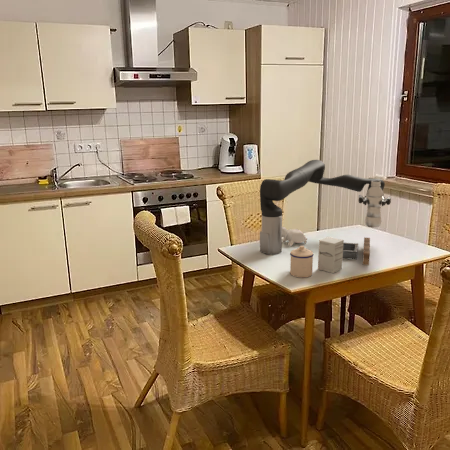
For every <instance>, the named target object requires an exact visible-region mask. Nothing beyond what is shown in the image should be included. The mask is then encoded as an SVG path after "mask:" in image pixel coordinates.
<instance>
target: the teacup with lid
mask: <svg viewBox="0 0 450 450" xmlns="http://www.w3.org/2000/svg"><path fill="white" fill-rule="evenodd" d="M289 255H290V263H289V265H290V266H289V267H290V268H289V269H290V270H289V271H290V275H291V276H293V277H295V278H300V279H301V278H302V279H304V278H310V277H311V276H312V275H313V263H314V262H313V261H314V252H313V250H310V249H307V248H306V247H305V245H300V246H299V247H298V248H295V249H292V250H291V251H290V252H289Z"/></svg>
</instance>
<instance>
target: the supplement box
mask: <svg viewBox="0 0 450 450" xmlns="http://www.w3.org/2000/svg"><path fill="white" fill-rule="evenodd" d="M344 241H345V240H344V239H340V238H335V237H332V236H326V237H322V238H321V239H319V240H318V258H317V259H318V260H317V270H320V271H324V272H327V273H331V274H334V273H336V272H339V271H340V270H342V267H343V259H344V258H343V243H345V242H344Z"/></svg>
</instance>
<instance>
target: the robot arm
mask: <svg viewBox="0 0 450 450" xmlns="http://www.w3.org/2000/svg"><path fill="white" fill-rule="evenodd" d="M325 169H326V164H325V162H324V161H322V160H320V159H311V160H308V161H307V162H305V163H304V164H303V165H302V166H299V167H298V168H295V169H293V170H291V171H288V172H287V173H286V174H285V176H284V179H283V180H279V179H271V178H270V179H269V178H267V179H263V180H262V181H261V184H260V187H259V199H260V200H259V201H260V211H261V230H259V252H261V253H263V254H265V255H278V254H280V253H282V251H283V250H282V248H283V247H282V246H283V245H282V243H283V241H282V240H283V237H282V227H283V210H282V208H281V207H279V206H278V205H276V203H275V202H280V201H283V200H285V199H286V198H287V197H288V196H290V194H292V193H294V192H295V191H298V190H300V189H302V188H303V187H305V186H306V185H307V184H308V183H309V182H310V183H312V184H319V185H325V186H331V187H338V188H344V189H347V190H351V191H353V192H354V191H355V192H356V193H357V192H358V193H360V192H362V191H363V189H364V187H365V186H366V185H368V187H367V189H366V192H367V191H368V190H369V189H370V188H371V181H381V183H380V185H381V186H380V188H381V190H382V192H383V197H382V202H381V207H384V206H386V205H388V206H389V205H391V203H392V196H390V195H389V196H387V197H386V196H384V188H385V185H386V183H385V181H384V180H383V179H381V178H365V177H360V176H357V175H353V174H344V175H343V174H342V175H338V176H334V177H330V178H328V177H324V174H325ZM357 200H358V204H363V205H364V206H367V193H366V195H361V194H358V199H357ZM274 201H275V202H274Z"/></svg>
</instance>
